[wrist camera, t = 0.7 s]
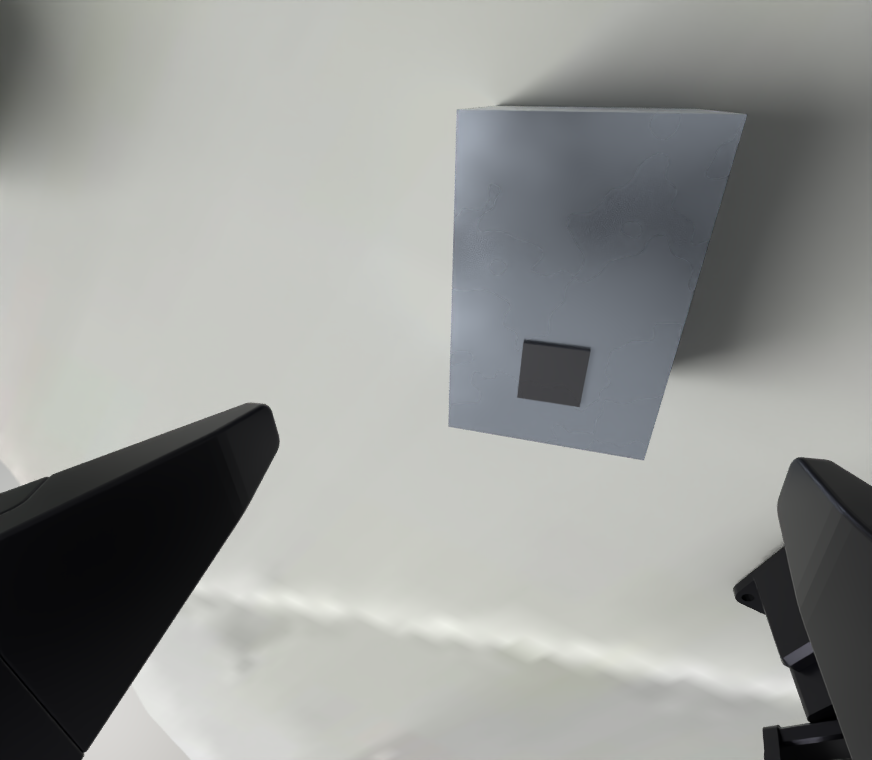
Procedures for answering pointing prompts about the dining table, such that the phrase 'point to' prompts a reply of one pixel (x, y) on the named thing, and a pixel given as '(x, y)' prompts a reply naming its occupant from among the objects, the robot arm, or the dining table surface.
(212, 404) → the dining table surface
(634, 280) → the block
